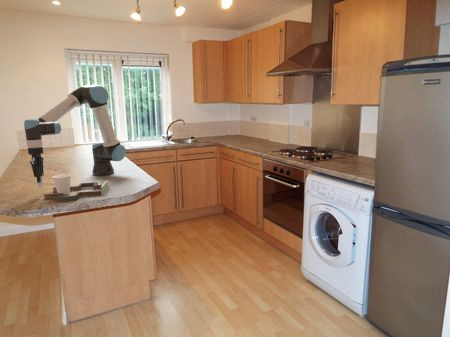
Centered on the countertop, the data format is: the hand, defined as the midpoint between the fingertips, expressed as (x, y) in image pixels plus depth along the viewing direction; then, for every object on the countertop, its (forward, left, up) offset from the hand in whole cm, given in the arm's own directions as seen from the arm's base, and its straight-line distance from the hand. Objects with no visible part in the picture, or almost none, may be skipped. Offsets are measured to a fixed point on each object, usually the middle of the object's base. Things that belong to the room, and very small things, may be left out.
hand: (40, 187), depth 191 cm
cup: (0, +12, -5) cm, 13 cm away
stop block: (0, +36, -5) cm, 36 cm away
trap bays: (0, +20, -5) cm, 21 cm away
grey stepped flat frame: (0, +20, -5) cm, 21 cm away
